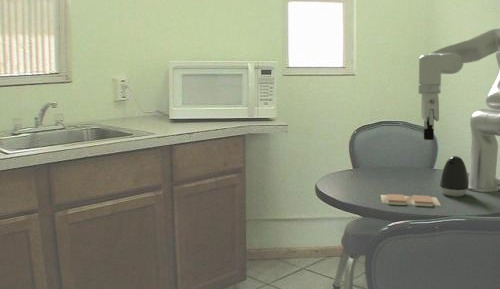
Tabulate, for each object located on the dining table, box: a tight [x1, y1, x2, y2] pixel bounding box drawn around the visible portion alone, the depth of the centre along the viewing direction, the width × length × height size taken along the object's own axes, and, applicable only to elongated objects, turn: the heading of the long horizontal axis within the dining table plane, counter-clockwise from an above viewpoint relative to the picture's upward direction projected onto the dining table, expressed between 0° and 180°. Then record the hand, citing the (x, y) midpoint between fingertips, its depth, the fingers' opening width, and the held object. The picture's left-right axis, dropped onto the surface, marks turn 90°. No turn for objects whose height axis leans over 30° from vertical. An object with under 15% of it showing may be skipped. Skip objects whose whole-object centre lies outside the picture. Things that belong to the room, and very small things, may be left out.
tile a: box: [411, 194, 434, 207], centre depth 179 cm, size 6×2×8 cm
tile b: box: [386, 193, 407, 206], centre depth 181 cm, size 6×2×8 cm
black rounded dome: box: [438, 155, 469, 198], centre depth 190 cm, size 10×10×15 cm
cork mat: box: [380, 194, 442, 207], centre depth 183 cm, size 20×11×1 cm, turn 78°
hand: (428, 139), depth 185 cm, fingers closed
